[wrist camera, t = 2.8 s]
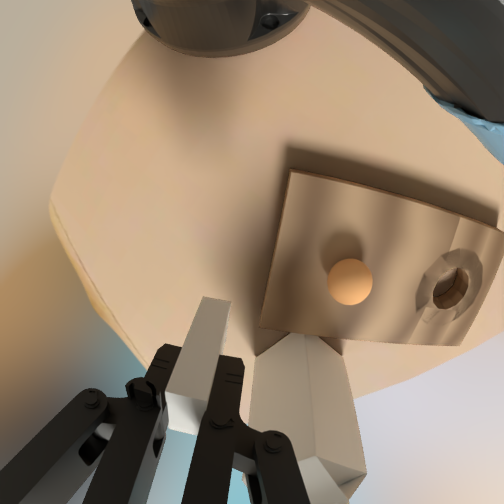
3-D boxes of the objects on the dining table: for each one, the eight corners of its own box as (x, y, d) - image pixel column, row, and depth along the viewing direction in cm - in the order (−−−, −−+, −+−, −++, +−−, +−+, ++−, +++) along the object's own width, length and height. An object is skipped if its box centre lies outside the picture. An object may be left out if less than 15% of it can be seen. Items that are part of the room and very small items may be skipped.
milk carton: (254, 357, 31) (235, 521, 13) (303, 322, 28) (317, 508, 11) (296, 386, 32) (299, 531, 15) (343, 356, 30) (373, 513, 12)
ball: (330, 247, 22) (339, 267, 19) (370, 255, 22) (385, 275, 19) (319, 286, 24) (325, 311, 20) (357, 292, 24) (368, 316, 20)
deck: (260, 312, 28) (259, 327, 26) (289, 168, 22) (291, 172, 20) (450, 333, 28) (459, 346, 26) (496, 228, 22) (510, 236, 20)
